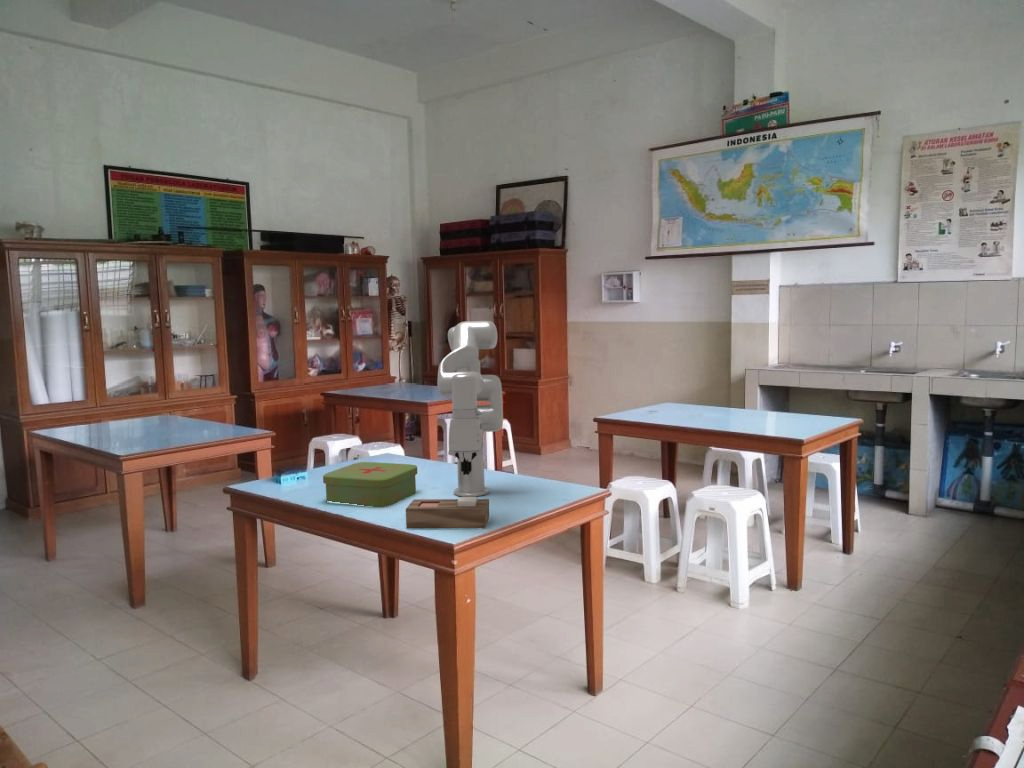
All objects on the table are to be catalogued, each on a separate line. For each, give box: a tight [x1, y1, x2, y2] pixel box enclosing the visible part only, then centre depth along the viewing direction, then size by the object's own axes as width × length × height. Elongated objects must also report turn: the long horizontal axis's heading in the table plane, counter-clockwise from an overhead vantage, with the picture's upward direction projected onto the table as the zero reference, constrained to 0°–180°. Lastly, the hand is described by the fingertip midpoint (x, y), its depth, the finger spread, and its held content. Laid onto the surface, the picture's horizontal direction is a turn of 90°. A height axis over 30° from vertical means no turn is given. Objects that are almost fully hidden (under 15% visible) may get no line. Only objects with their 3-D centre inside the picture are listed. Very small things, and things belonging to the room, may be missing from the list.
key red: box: [420, 503, 439, 507], centre depth 234 cm, size 5×5×4 cm
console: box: [405, 498, 491, 530], centre depth 234 cm, size 12×24×6 cm, turn 86°
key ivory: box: [457, 496, 478, 506], centre depth 233 cm, size 5×5×4 cm
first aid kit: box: [322, 461, 418, 508], centre depth 270 cm, size 26×26×10 cm
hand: (466, 473), depth 232 cm, fingers closed
